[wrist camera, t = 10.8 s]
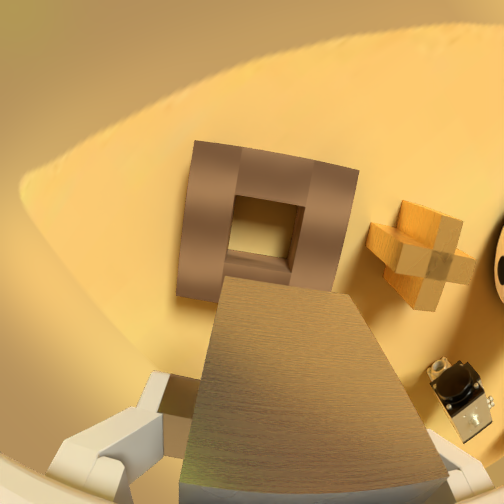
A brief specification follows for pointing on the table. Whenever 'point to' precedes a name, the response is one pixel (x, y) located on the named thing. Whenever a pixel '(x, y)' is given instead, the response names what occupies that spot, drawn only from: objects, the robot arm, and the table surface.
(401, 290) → the cross bit
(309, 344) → the square bit
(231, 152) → the block
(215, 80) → the table surface
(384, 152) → the table surface
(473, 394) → the pneumatic valve
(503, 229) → the milk container
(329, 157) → the table surface
